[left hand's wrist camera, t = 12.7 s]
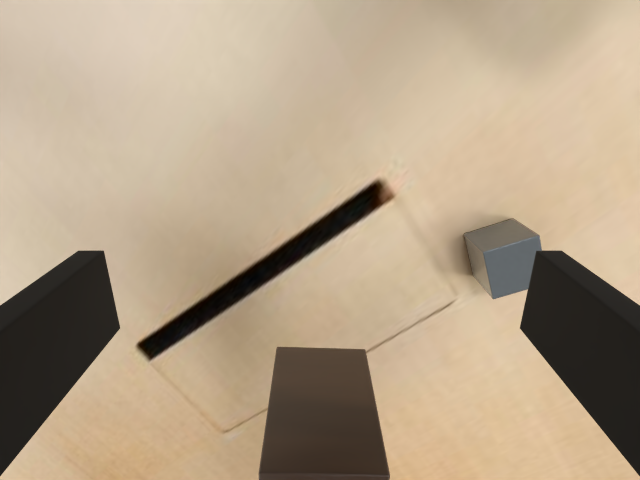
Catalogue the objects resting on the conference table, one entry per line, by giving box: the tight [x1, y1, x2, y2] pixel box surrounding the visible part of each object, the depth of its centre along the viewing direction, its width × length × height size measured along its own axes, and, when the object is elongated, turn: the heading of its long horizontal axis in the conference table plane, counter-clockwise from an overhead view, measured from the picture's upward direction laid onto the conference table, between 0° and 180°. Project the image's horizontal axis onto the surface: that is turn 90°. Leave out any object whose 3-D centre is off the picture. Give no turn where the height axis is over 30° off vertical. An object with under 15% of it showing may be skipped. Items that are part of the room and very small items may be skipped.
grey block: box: [464, 219, 542, 299], centre depth 39 cm, size 5×5×5 cm
